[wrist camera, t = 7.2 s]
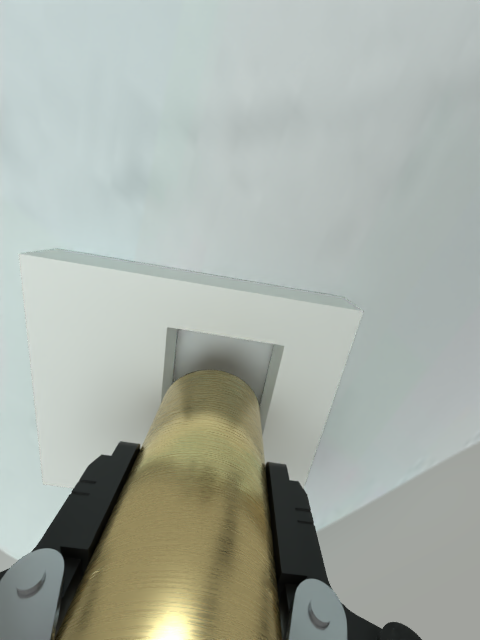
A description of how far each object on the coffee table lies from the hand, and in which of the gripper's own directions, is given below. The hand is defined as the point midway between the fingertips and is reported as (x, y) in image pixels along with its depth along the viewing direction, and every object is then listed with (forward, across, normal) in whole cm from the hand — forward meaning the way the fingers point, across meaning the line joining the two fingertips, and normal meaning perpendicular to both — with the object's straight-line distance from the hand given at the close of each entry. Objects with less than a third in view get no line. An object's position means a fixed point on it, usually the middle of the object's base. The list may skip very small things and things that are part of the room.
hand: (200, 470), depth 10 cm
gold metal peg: (+3, 0, 0) cm, 3 cm away
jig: (+9, +2, +2) cm, 9 cm away
